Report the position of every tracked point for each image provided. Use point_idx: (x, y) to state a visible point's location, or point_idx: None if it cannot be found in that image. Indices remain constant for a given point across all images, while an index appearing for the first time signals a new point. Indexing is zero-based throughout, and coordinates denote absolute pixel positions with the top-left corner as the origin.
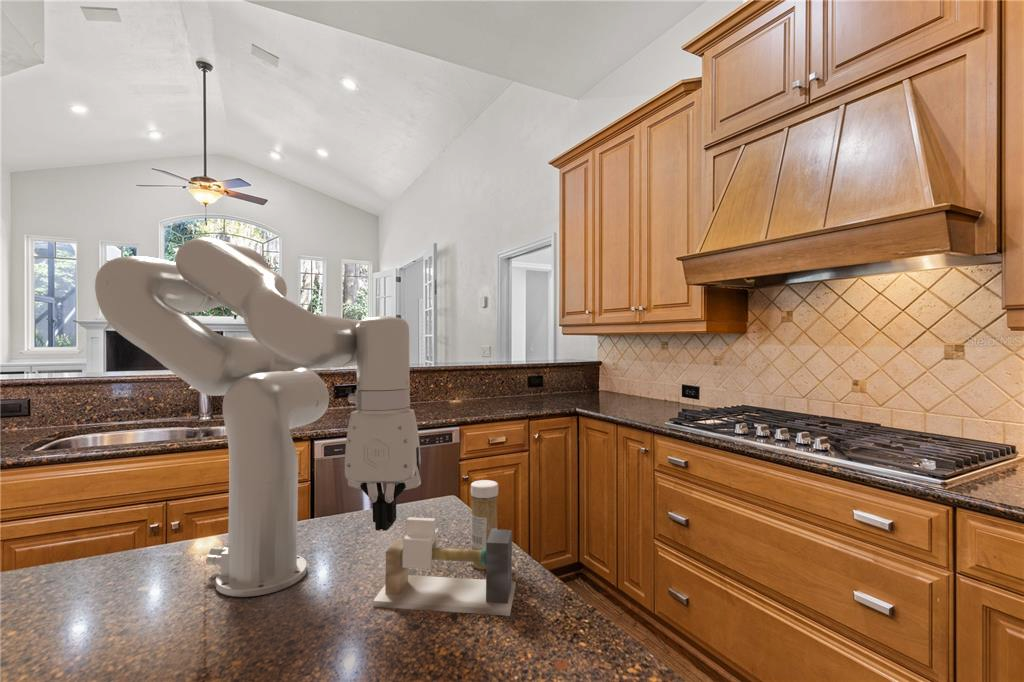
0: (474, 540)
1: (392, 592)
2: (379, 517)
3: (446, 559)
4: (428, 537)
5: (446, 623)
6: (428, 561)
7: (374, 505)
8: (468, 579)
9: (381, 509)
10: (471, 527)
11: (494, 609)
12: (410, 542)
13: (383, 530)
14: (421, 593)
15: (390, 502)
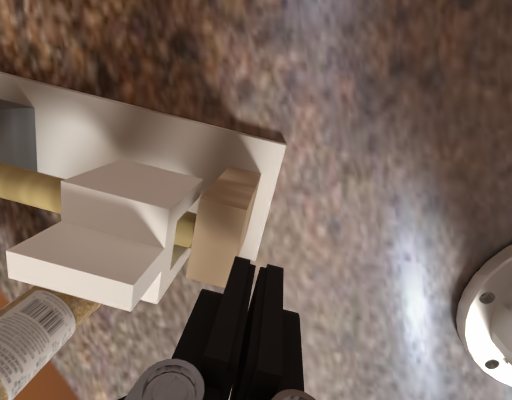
0: (49, 313)
1: (243, 170)
2: (260, 302)
3: None
4: (77, 212)
5: (115, 51)
6: (115, 164)
7: (291, 381)
8: None
9: (243, 333)
10: (37, 349)
11: (13, 77)
12: (144, 196)
13: (247, 259)
14: (179, 166)
15: (170, 360)
